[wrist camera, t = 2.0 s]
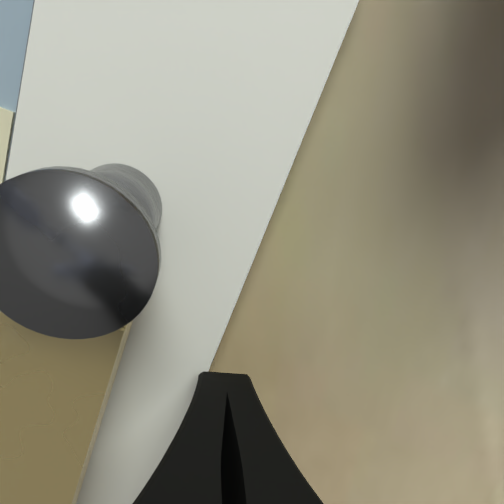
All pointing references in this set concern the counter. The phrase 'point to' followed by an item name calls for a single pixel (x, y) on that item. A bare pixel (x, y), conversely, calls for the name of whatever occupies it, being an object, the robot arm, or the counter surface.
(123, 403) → the door panel
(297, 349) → the counter surface
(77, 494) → the swing bar
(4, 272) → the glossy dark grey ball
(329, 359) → the counter surface
